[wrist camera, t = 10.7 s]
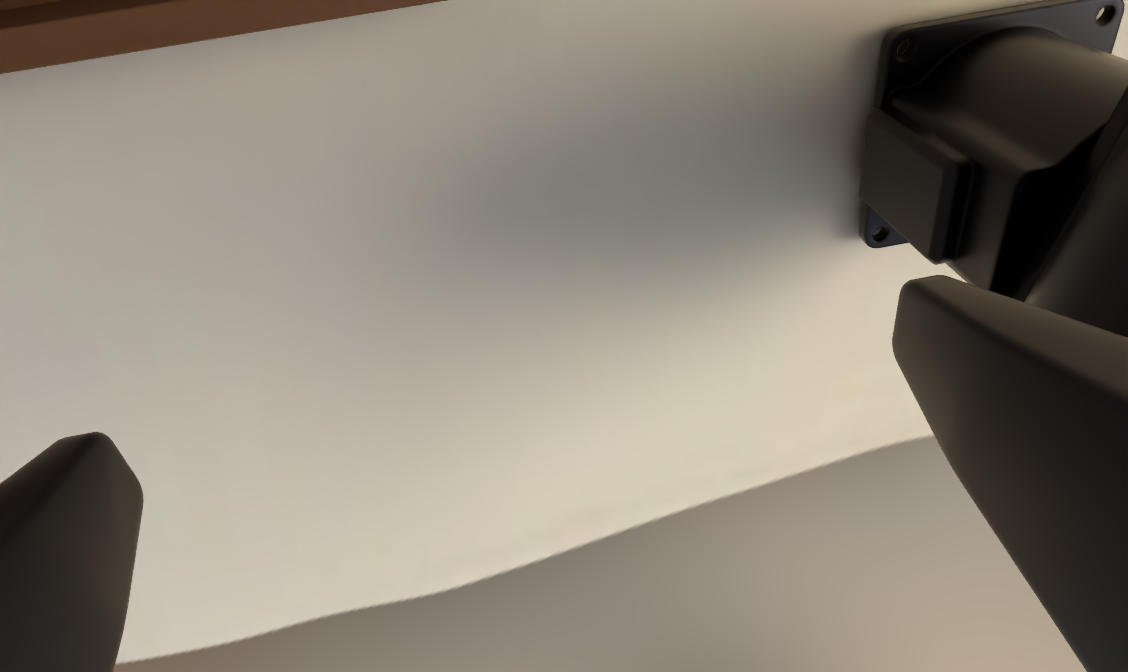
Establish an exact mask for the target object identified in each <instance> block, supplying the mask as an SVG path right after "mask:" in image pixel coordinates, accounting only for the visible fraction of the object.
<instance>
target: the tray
mask: <svg viewBox="0 0 1128 672" xmlns="http://www.w3.org/2000/svg"><path fill="white" fill-rule="evenodd" d="M440 1H446V0H0V74H3V73H9V72H15V71H21V70H28V69H34V68H40V67H46V66H52V65H58V64H64V63H70V62H76V61H82V60H88V59H94V58H100V57H106V56H113V55H119V54H125V53H131V52H137V51H143V50H149V49H155V48H161V47H167V46H173V45H179V44H185V43H191V42H198V41H204V40H210V39H216V38H222V37H228V36H234V35H240V34H246V33H252V32H258V31H264V30H270V29H276V28H282V27H289V26H295V25H301V24H307V23H313V22H319V21H325V20H331V19H337V18H343V17H349V16H355V15H361V14H367V13H374V12H380V11H386V10H392V9H398V8H404V7H410V6H416V5H422V4H428V3H434V2H440Z"/></svg>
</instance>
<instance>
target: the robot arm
mask: <svg viewBox="0 0 1128 672" xmlns="http://www.w3.org/2000/svg"><path fill="white" fill-rule="evenodd" d="M1103 7H1104V12H1103V14H1102V16H1101V17H1099V18H1098V19H1097V20H1096V16H1097V14H1098V12H1099V11H1100V10H1101V9H1102V8H1103ZM1123 12H1124V2H1123V0H1051V1H1045V2H1039V3H1033V4H1027V5H1022V6H1016V7H1010V8H1004V9H998V10H992V11H986V12H980V13H975V14H969V15H963V16H957V17H951V18H945V19H939V20H934V21H928V22H922V23H916V24H910V25H904V26H900V27H897V28H895V29H893V30H892V31H891V32H889V33H888V34H887V36H886V37H885V39H884V40H883V42H882V46H881V50H880V58H879V67H878V75H877V84H876V92H875V100H874V109H873V110H872V112H871V113H870V115H869V116H868V118H867V125H866V133H865V142H864V151H863V159H862V168H861V177H860V185H859V197H860V198H861V199H862V200H863V201H862V209H861V217H860V226H859V236H860V237H861V239H862V240H863V241H864V242H865V243H866V244H867V245H868V246H869V247H872V248H882V247H887V246H893V245H898V244H904V243H910V244H911V245H912V246H914V247H915V248H916V249H917V250H918V251H919V252H920V253H921V254H922V255H923V256H924V257H926V258H927V259H928V260H929V261H930V262H931V263H933V264H935V265H937V264H942V263H946V264H947V265H948V266H949V267H951V268H952V269H953V270H954V271H955V272H956V273H957V274H958V275H959V276H961V277H962V278H963V279H964V280H965V281H966V282H967V283H965V282H962V281H959V280H956V279H954V278H951V277H948V276H944V275H935V276H930V277H925V278H919V279H914V280H910V281H908V282H906V283H905V284H904V285H903V287H902V289H901V291H900V295H899V301H898V307H897V313H896V319H895V325H894V331H893V338H892V346H893V352H894V355H895V358H896V361H897V363H898V365H899V367H900V369H901V371H902V373H903V375H904V377H905V378H906V380H907V382H908V384H909V386H910V388H911V390H912V392H913V394H914V396H915V398H916V400H917V402H918V404H919V406H920V408H921V410H922V412H923V414H924V416H925V418H926V420H927V422H928V424H929V425H930V427H931V429H932V431H933V433H934V435H935V437H936V439H937V441H938V443H939V445H940V447H941V449H942V451H943V453H944V454H945V456H946V458H947V460H948V462H949V463H950V465H951V467H952V468H953V470H954V472H955V473H956V475H957V476H958V478H959V479H960V481H961V483H962V484H963V486H964V487H965V489H966V490H967V492H968V493H969V495H970V496H971V498H972V499H973V501H974V502H975V504H976V505H977V507H978V508H979V510H980V511H981V513H982V514H983V516H984V517H985V519H986V520H987V522H988V523H989V525H990V526H991V528H992V529H993V531H994V532H995V534H996V535H997V537H998V538H999V540H1000V541H1001V543H1002V544H1003V546H1004V547H1005V549H1006V550H1007V552H1008V553H1009V555H1010V556H1011V558H1012V560H1013V561H1014V562H1015V564H1016V565H1017V567H1018V569H1019V570H1020V572H1021V573H1022V574H1023V576H1024V578H1025V579H1026V581H1027V582H1028V584H1029V585H1030V586H1031V588H1032V589H1033V591H1034V593H1035V594H1036V596H1037V597H1038V599H1039V600H1040V602H1041V603H1042V605H1043V606H1044V608H1045V609H1046V611H1047V612H1048V614H1049V615H1050V617H1051V618H1052V620H1053V621H1054V623H1055V624H1056V626H1057V627H1058V629H1059V630H1060V632H1061V633H1062V634H1063V636H1064V638H1065V639H1066V641H1067V642H1068V644H1069V645H1070V647H1071V648H1072V650H1073V651H1074V653H1075V654H1076V656H1077V657H1078V659H1079V660H1080V662H1081V663H1082V665H1083V666H1084V668H1085V669H1086V671H1087V672H1128V60H1125V59H1122V58H1120V57H1117V56H1114V55H1111V53H1112V50H1113V46H1114V43H1115V39H1116V36H1117V33H1118V29H1119V26H1120V22H1121V19H1122V16H1123ZM907 39H908V46H907V48H906V50H905V51H904V52H903V53H902V54H900V55H897V49H898V46H899V45H900V44H901V43H902V42H903V41H905V40H907ZM881 226H883V227H882V229H881V231H880V232H879V233H878V234H875V235H873V233H874V231H875V230H876V229H877V228H879V227H881ZM142 509H143V492H142V488H141V485H140V483H139V481H138V479H137V478H136V476H135V474H134V473H133V471H132V470H131V468H130V467H129V465H128V464H127V462H126V461H125V459H124V458H123V456H122V455H121V453H120V452H119V450H118V449H117V447H116V446H115V444H114V443H113V441H112V440H111V439H110V438H109V437H108V436H107V435H105V434H103V433H100V432H92V433H87V434H81V435H76V436H70V437H66V438H62V439H60V440H58V441H57V442H55V443H54V444H52V445H51V446H50V447H48V448H47V449H46V450H44V451H43V452H42V453H40V454H39V455H38V456H36V457H35V458H34V459H33V460H31V461H30V462H29V463H27V464H26V465H25V466H23V467H22V468H21V469H19V470H18V471H17V472H15V473H14V474H13V475H11V476H10V477H9V478H7V479H6V480H5V481H3V482H2V483H1V484H0V672H113V669H114V666H115V662H116V658H117V654H118V651H119V646H120V642H121V638H122V634H123V630H124V625H125V619H126V614H127V609H128V602H129V595H130V589H131V582H132V575H133V569H134V562H135V556H136V549H137V542H138V536H139V529H140V522H141V516H142Z"/></svg>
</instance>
